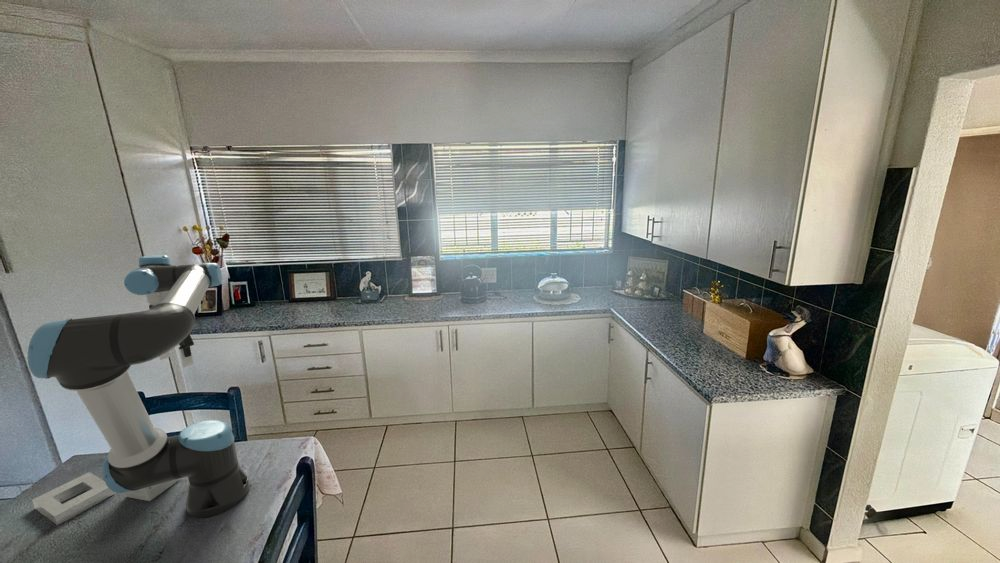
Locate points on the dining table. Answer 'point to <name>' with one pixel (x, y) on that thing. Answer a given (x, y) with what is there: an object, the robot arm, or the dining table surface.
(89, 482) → the housing
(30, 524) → the dining table surface
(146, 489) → the supplement box
